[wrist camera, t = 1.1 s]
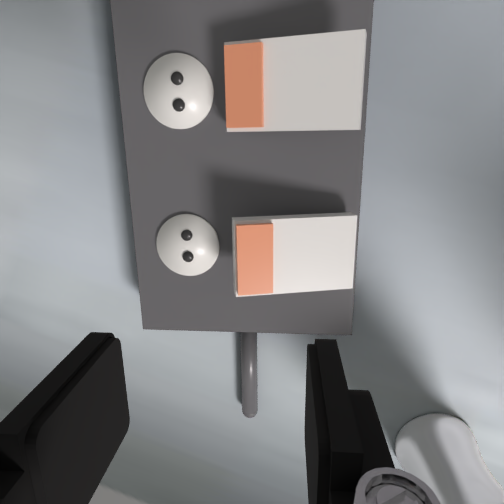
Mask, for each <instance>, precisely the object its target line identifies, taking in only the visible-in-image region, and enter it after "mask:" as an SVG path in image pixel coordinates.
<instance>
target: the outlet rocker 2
mask: <svg viewBox="0 0 504 504" xmlns="http://www.w3.org/2000/svg"><path fill="white" fill-rule="evenodd" d="M356 229H357V215H355V214H353V213H351V212H345V213H322V214H299V215H277V216H254V217H232V244H233V281H234V293H235V296H236V297H244V296H257V295H271V294H284V293H297V292H311V291H324V290H338V289H351V288H353V276H354V260H355V245H356Z"/></svg>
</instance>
